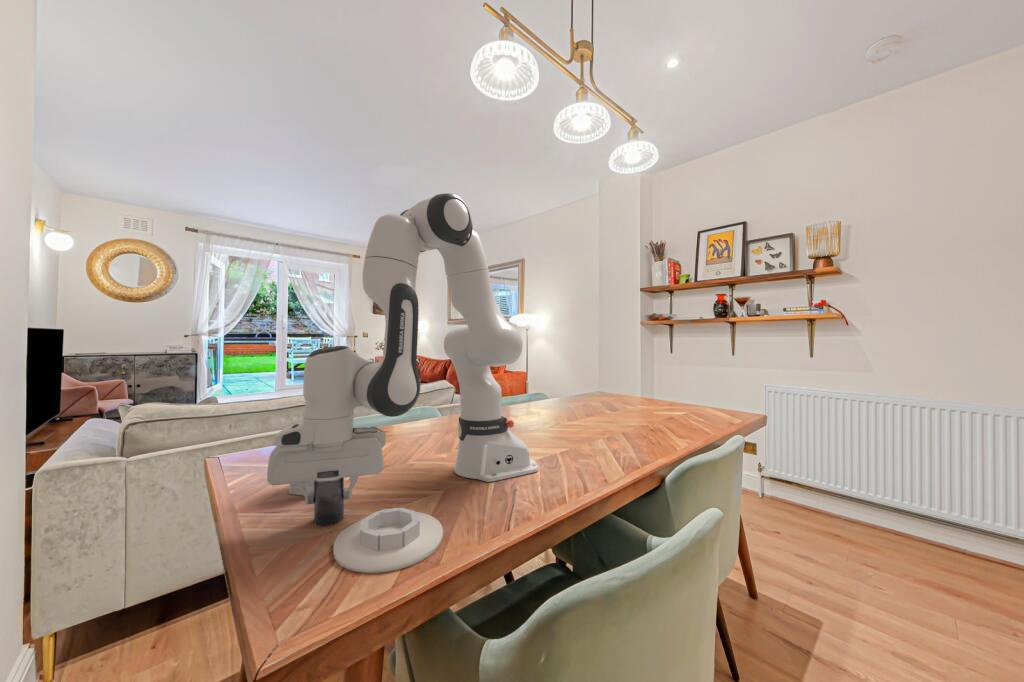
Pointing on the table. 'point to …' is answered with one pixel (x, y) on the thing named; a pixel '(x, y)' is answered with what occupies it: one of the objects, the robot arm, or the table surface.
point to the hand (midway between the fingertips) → (329, 500)
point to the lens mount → (388, 541)
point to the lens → (328, 498)
